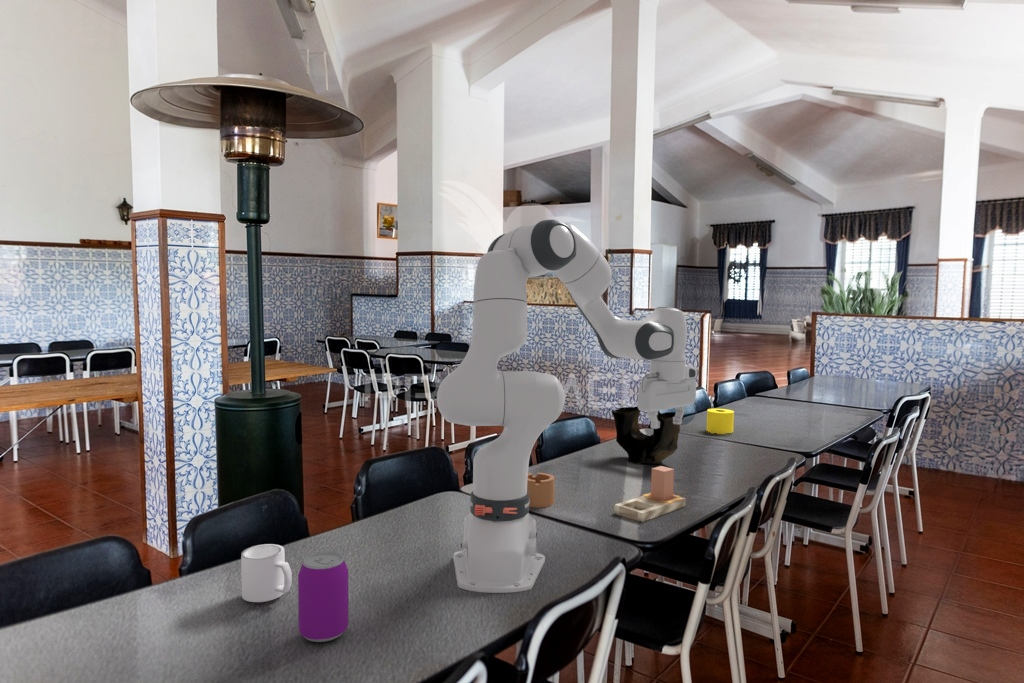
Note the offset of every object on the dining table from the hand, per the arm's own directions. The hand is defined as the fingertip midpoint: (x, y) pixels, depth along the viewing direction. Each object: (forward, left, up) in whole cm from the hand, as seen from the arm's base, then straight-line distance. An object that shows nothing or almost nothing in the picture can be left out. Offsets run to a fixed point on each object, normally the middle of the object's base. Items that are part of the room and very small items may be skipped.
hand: (666, 426), depth 171 cm
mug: (-55, +80, -21) cm, 100 cm away
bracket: (+6, +33, -22) cm, 40 cm away
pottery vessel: (+45, -2, -21) cm, 50 cm away
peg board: (-3, +4, -21) cm, 22 cm away
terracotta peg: (+1, 0, -21) cm, 21 cm away
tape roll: (+93, -38, -21) cm, 103 cm away
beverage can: (-68, +66, -21) cm, 97 cm away
